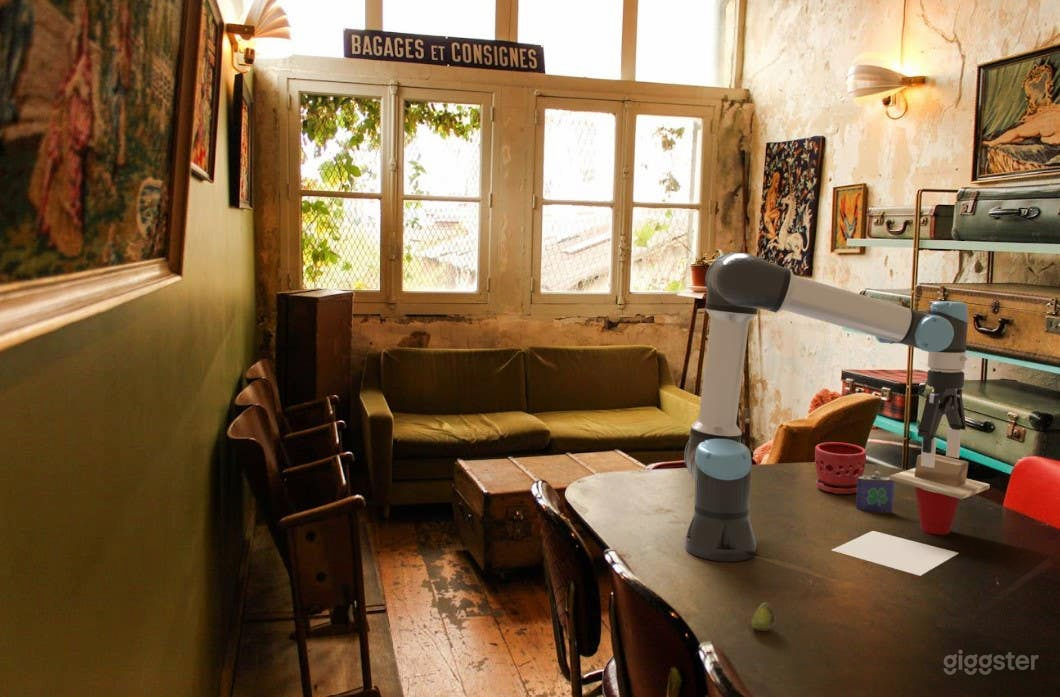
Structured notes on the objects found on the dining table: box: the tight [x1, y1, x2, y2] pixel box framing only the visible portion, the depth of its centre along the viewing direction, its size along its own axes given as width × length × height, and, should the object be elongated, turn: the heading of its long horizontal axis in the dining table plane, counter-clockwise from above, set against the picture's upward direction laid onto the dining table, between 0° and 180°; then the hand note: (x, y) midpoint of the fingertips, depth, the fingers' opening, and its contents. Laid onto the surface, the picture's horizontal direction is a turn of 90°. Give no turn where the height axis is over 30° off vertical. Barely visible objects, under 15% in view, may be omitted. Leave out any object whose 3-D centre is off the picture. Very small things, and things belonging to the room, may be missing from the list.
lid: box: [889, 453, 990, 500], centre depth 191 cm, size 16×16×6 cm
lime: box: [749, 601, 777, 632], centre depth 144 cm, size 4×5×5 cm
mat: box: [831, 530, 959, 576], centre depth 179 cm, size 19×19×1 cm
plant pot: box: [814, 441, 867, 495], centre depth 228 cm, size 13×13×12 cm
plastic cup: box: [914, 486, 961, 536], centre depth 192 cm, size 11×11×12 cm
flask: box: [855, 470, 896, 515], centre depth 208 cm, size 9×3×11 cm, turn 88°
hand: (940, 461), depth 191 cm, fingers open, 13 cm apart
